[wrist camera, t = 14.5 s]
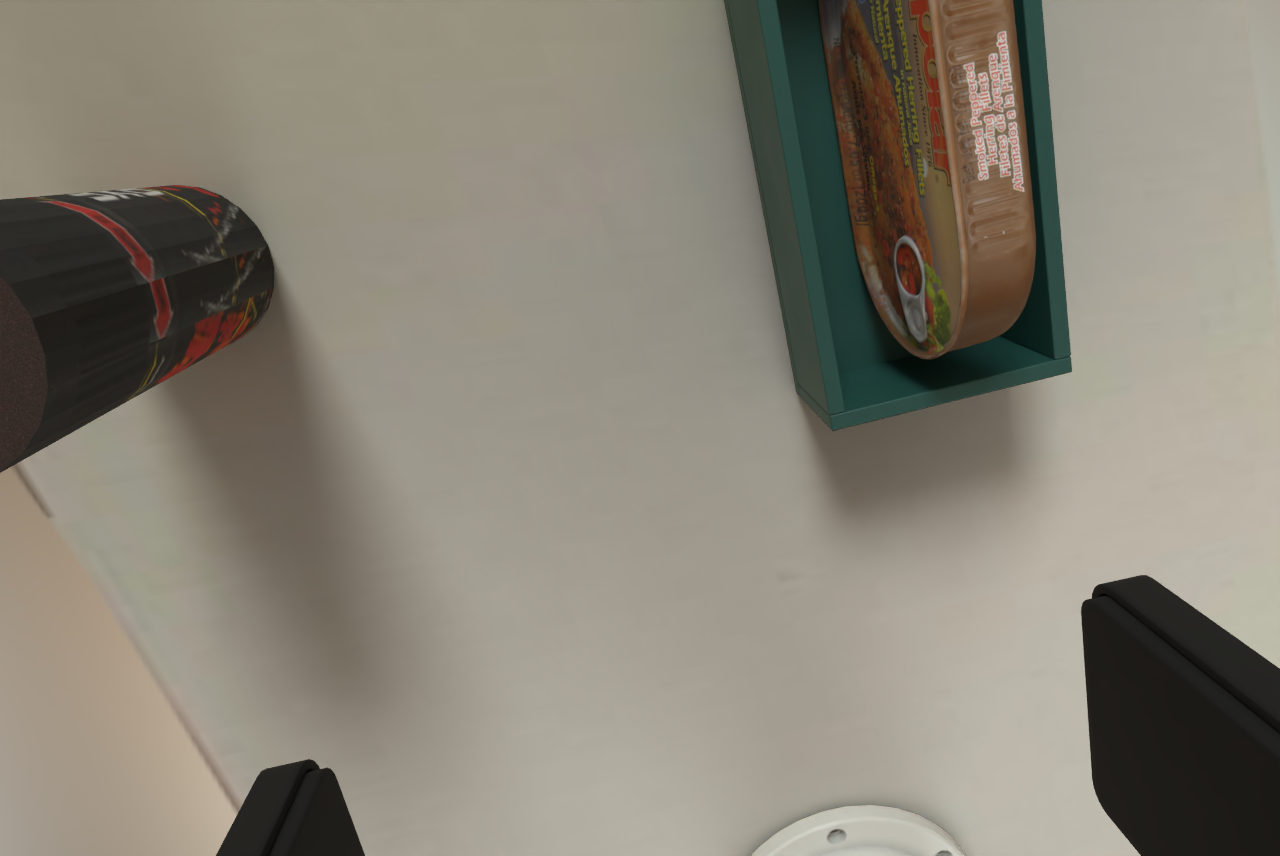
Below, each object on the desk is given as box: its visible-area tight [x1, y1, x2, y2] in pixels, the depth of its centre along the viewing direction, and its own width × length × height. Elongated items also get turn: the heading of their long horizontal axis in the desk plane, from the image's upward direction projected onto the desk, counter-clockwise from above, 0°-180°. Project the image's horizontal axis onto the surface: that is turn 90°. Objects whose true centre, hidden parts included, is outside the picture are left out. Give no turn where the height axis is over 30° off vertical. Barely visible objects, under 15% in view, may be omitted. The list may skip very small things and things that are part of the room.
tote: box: [724, 0, 1072, 431], centre depth 31 cm, size 19×9×5 cm, turn 13°
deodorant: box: [0, 185, 274, 472], centre depth 25 cm, size 6×6×15 cm
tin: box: [818, 0, 1036, 359], centre depth 28 cm, size 15×3×8 cm, turn 13°
